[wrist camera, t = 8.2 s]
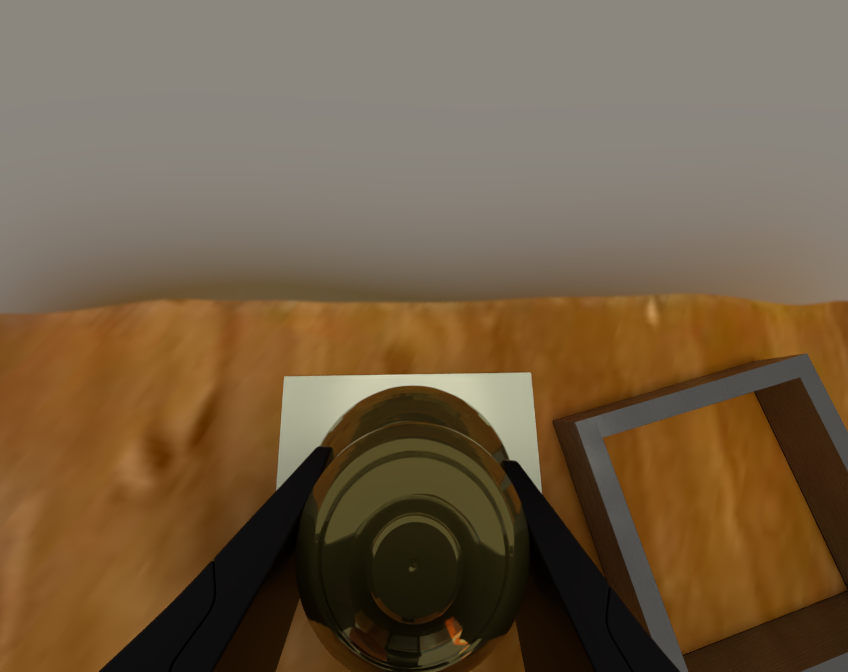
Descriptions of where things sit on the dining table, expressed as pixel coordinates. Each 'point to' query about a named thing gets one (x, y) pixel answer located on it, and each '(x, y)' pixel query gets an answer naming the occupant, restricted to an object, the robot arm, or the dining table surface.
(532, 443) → the tile
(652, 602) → the grey square frame
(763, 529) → the dining table surface
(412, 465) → the brass rounded piece
